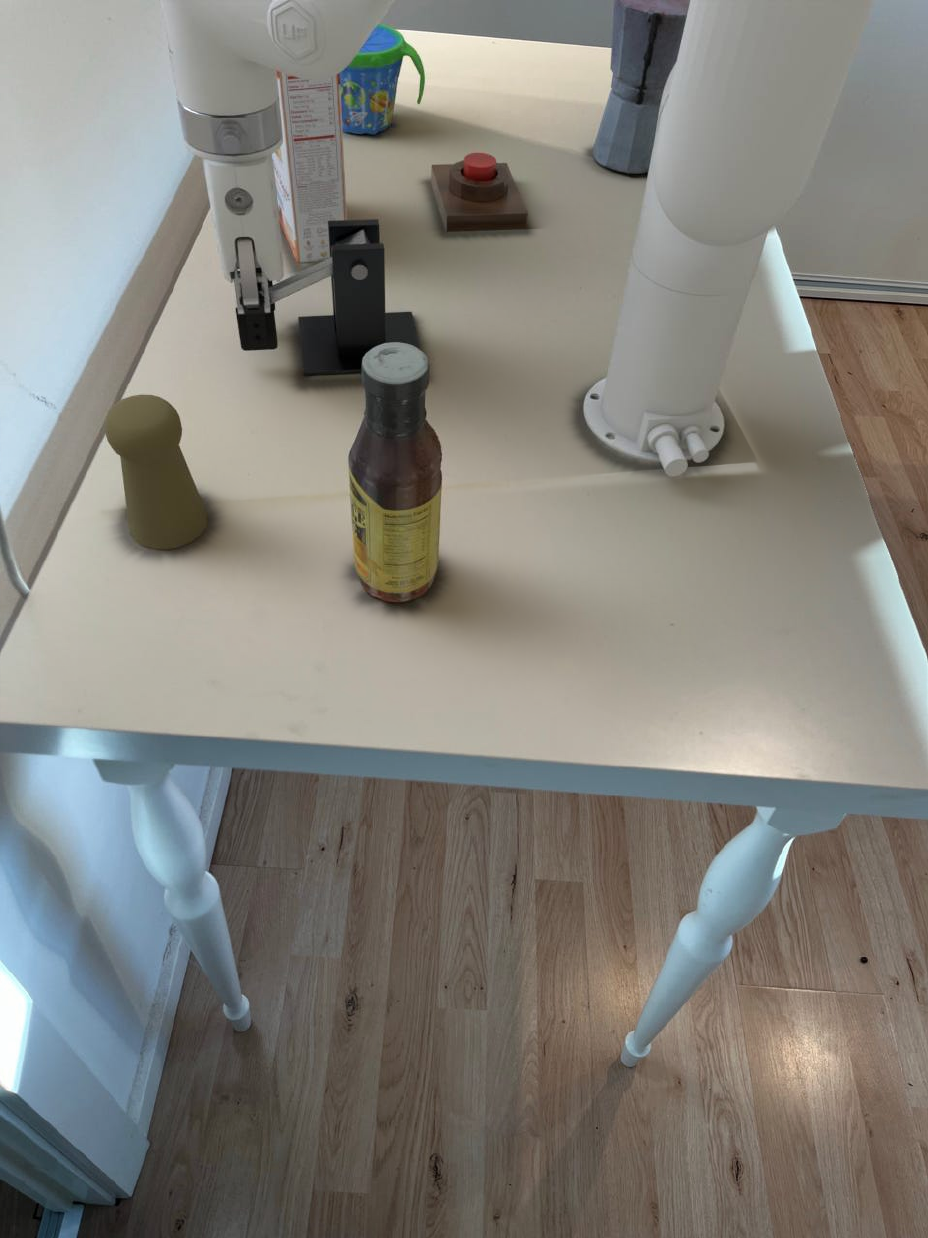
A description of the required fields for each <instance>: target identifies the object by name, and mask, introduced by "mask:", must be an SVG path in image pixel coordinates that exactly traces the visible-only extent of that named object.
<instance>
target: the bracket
mask: <svg viewBox="0 0 928 1238" xmlns="http://www.w3.org/2000/svg"><path fill="white" fill-rule="evenodd" d="M361 230H364V231H365V233H366V235H367V237H368V239H369V241H370V243H371V244H346V245H335V243H336V242H338V241H340V240H343V239H345V238H347V237H349V236H351V235H353V234H355V233H357V232H359V231H361ZM380 234H381V233H380V221H379V218H373V219H371V218H370V219H347V220H337V221H328V236H329V252H330V258H331V257H332V269H333V275H331V276H330V281H331V282H330V283H331V297H332V298H331V300H332V314H330V315H307V316H303V315H302V316H298V317H297V322H298V334H299V342H300V343H299V344H300V352H301V353H300V355H301V362H302V364H301V365H302V374H303V375H302V376H303V377H305V378H309V377H324V376H327V377H328V376H342V375H343V376H344V375H362V359H363V357H364V356H365V354H366V353H367V352H369V351H370V350H371V349H373V348H374V347H376V346H378V345H381V344H384V343H391V342H399V343H405V344H409V345H412V346H415V347H416V348H418V349H419V350H420V351H422V350H421V347H420V342H419V338H418V333H417V329H416V325H415V320H414V316H413V312H412V311H394V312H393V311H392V312H386V263H385V262H386V261H385V260H386V258H385V257H386V256H385V255H386V253H385V245H384V243H383V242H381V241H380V240H381V239H380Z"/></svg>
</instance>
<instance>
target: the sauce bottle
mask: <svg viewBox="0 0 928 1238" xmlns="http://www.w3.org/2000/svg"><path fill="white" fill-rule="evenodd" d="M420 350H421V349H420ZM420 350H419V349H418V348H416V347H415V346H412V345H409V344H405V343H399V342H391V343H384V344H381V345H378V346H376V347H374V348H373V349H371V350H370V351H369V352H367V353H366V354H365V356H364V357H363V359H362V374H360V375H361V377H360V378H361V383H362V385H363V387H364V395H365V400H364V401H365V404H364V405H365V407H364V408H365V409H364V411H363V419H362V421H361V424H360V426H359V429H358V430H357V434H356V436H355V439H354V441H353V443H352V446H351V447H350V450H349V453H348V457H347V459H348V460H347V462H348V463H347V464H348V478H349V479H348V480H349V493H350V494H349V497H350V512H351V514H350V515H351V516H350V517H351V530H352V546H353V562H354V563H353V564H354V568H355V571H356V573H357V577H358V580H359V582H360V585H361V587H362V588H363V590H365V592H366V593H368V594H369V595H370V596H372V597H375V598H377V599H378V600H381V601H384V602H389V603H390V602H391V603H405V602H409V601H414V600H415V599H418V598H421V597H422V596H424V595H425V593H426V592H427V591H429V589H430V588H431V586H432V584H433V583H434V580H435V578H436V575H437V569H438V564H439V552H440V550H439V549H440V532H441V531H440V530H441V509H442V491H443V490H442V489H443V488H442V487H443V472H442V461H443V453H442V444H441V442H440V440H439V439H440V438H439V436H438V434H437V432H436V430H435V429H434V427H432V425H431V424H430V423H429V421H428V419H426V418H427V408H426V390H427V389H428V387H429V383H430V362H429V358H428V356H427V355H426V353H425V352H424V351H422V350H421V351H420Z"/></svg>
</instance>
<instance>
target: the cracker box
mask: <svg viewBox="0 0 928 1238" xmlns="http://www.w3.org/2000/svg"><path fill="white" fill-rule="evenodd" d="M277 80H278V91H279V101H280V112H281V123H282V133H283V143H282V146H281V147H280V148H279V149H278V150H277V151H276V152H274V153H273V154H272V158H273V165H274V172H275V180H276V189H277V199H278V209H279V220H280V227H281V229H282V231H283V234H284V236H285V238H286V239H287V242H288V245H289V247H290V250H291V251H292V254H293V256H294V258H295V261H296V262H297V264H300V263H301V264H302V263H310V262H319V261H324V260H326V259H328V258H330V252H329V236H328V221H337V220H348V211H347V210H348V209H347V195H346V194H347V192H346V191H347V190H346V173H345V171H346V170H345V151H344V135H343V132H344V131H343V130H342V113H341V91H340V73H338V74H336V75H335V76H333V77H330V78H326V79H322V80H307V79H302V78H298V77H294V76H291V75H287V74H285V73H282V72H279V71H277Z"/></svg>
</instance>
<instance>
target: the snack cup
mask: <svg viewBox="0 0 928 1238" xmlns="http://www.w3.org/2000/svg"><path fill="white" fill-rule="evenodd" d="M404 57H409V58H410V59H411V61H412V63H413V65H414V67H415V69H416V71H417V73H418V75H419V76H420V77H419V89H418V98H417V100H416V103H417V104H418V105H421V103H422V99H423V95H424V90H425V84H426V73H425V68H424V64H423V61H422V58H421V56H420V54H419V53H418V51H417V50H416V49H415V48H414V47H413V46H412V45H411V44H410V43H408V42H406V40H405V38H404V35H403V34H402V33H401V32H400V31H398V30H397V29H395V28H393V27H391V26H388V25H386V24H381V23H379V24H378V25H377V26H376V28H375V29H374V30H373V32H372V33H371V34H370V36H369V37H368V39H367V40H366V42H365V43H364V45H363V46H362V48H361V49H360V50H359V52H358V53H357V54H356V56H355V57H354V59H353V60H352V61H351V63H350V64H349V65H348V66H347V67H346V68H345V69H344V70H343V71H341V72H340V91H341V113H342V132H344V133H351V134H356V135H362V134H363V135H364V134H368V135H374V136H375V135H377V134H378V133H380V132H384V131H385V130H387V129H388V128H389V127H391V125H392V122H393V120H394V119H393V118H394V111H395V104H396V97H397V88H398V83H399V77H400V74H401V69H402V65H403V60H404Z"/></svg>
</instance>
